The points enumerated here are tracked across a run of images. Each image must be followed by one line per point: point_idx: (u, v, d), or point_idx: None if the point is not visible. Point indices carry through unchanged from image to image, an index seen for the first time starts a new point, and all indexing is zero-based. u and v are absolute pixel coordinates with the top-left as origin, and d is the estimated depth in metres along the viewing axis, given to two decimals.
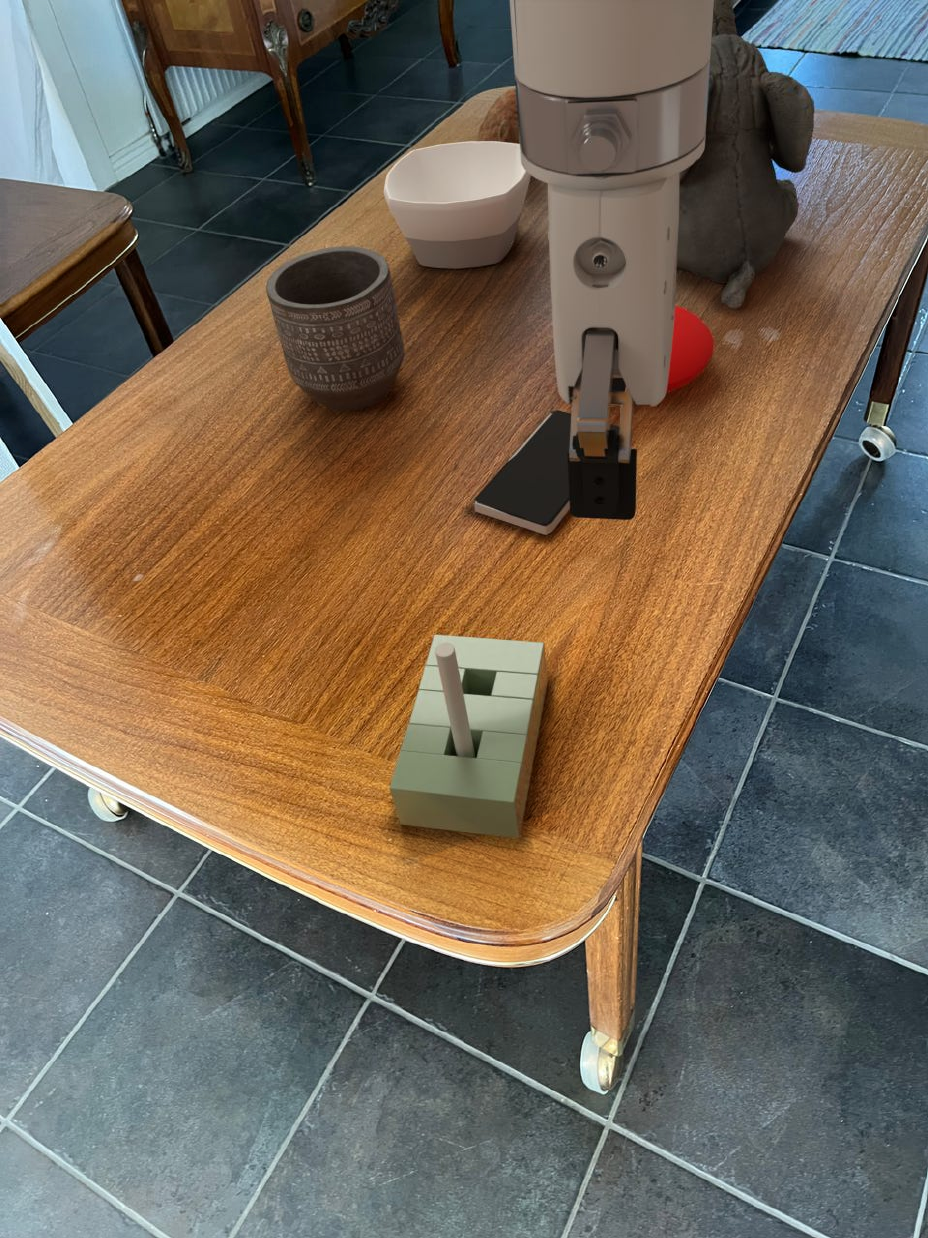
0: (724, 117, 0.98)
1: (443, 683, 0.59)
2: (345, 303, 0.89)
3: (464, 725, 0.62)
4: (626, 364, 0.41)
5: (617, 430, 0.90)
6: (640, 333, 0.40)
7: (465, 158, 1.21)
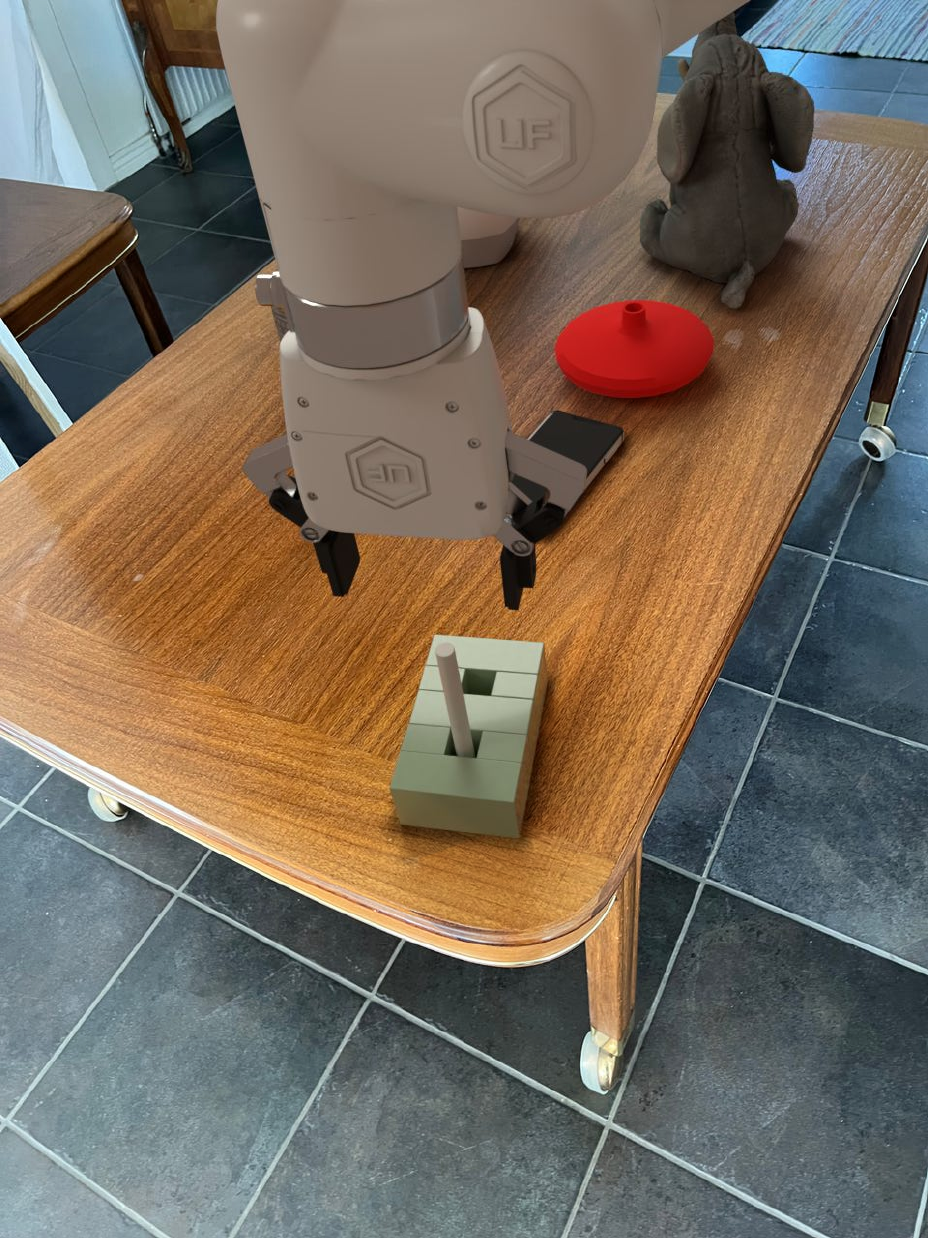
0: (724, 117, 0.98)
1: (443, 683, 0.59)
2: None
3: (464, 725, 0.62)
4: None
5: (617, 430, 0.90)
6: None
7: None
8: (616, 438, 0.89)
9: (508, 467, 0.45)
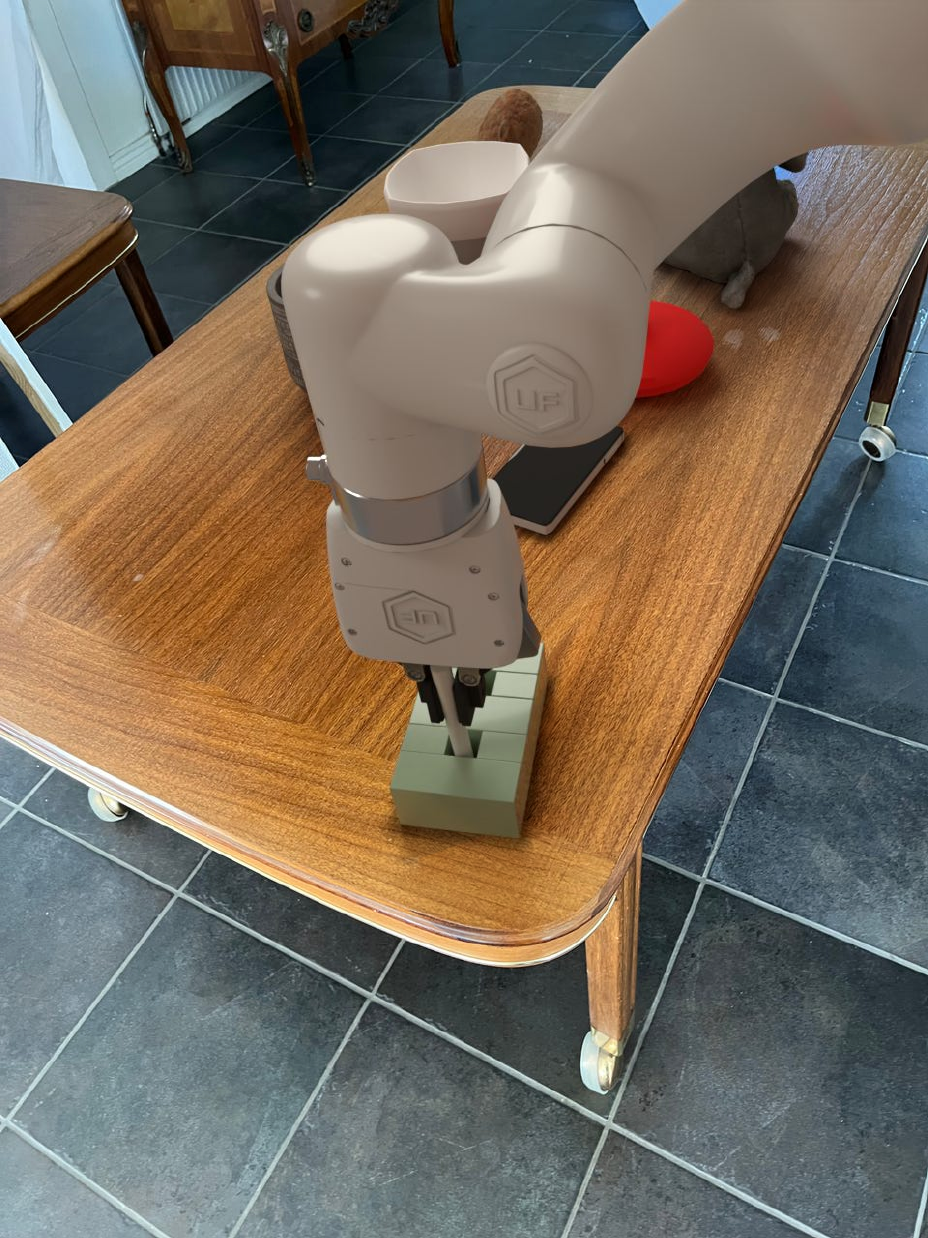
0: None
1: (440, 696, 0.58)
2: None
3: (462, 733, 0.61)
4: None
5: (617, 430, 0.90)
6: None
7: (465, 158, 1.21)
8: (616, 438, 0.89)
9: None
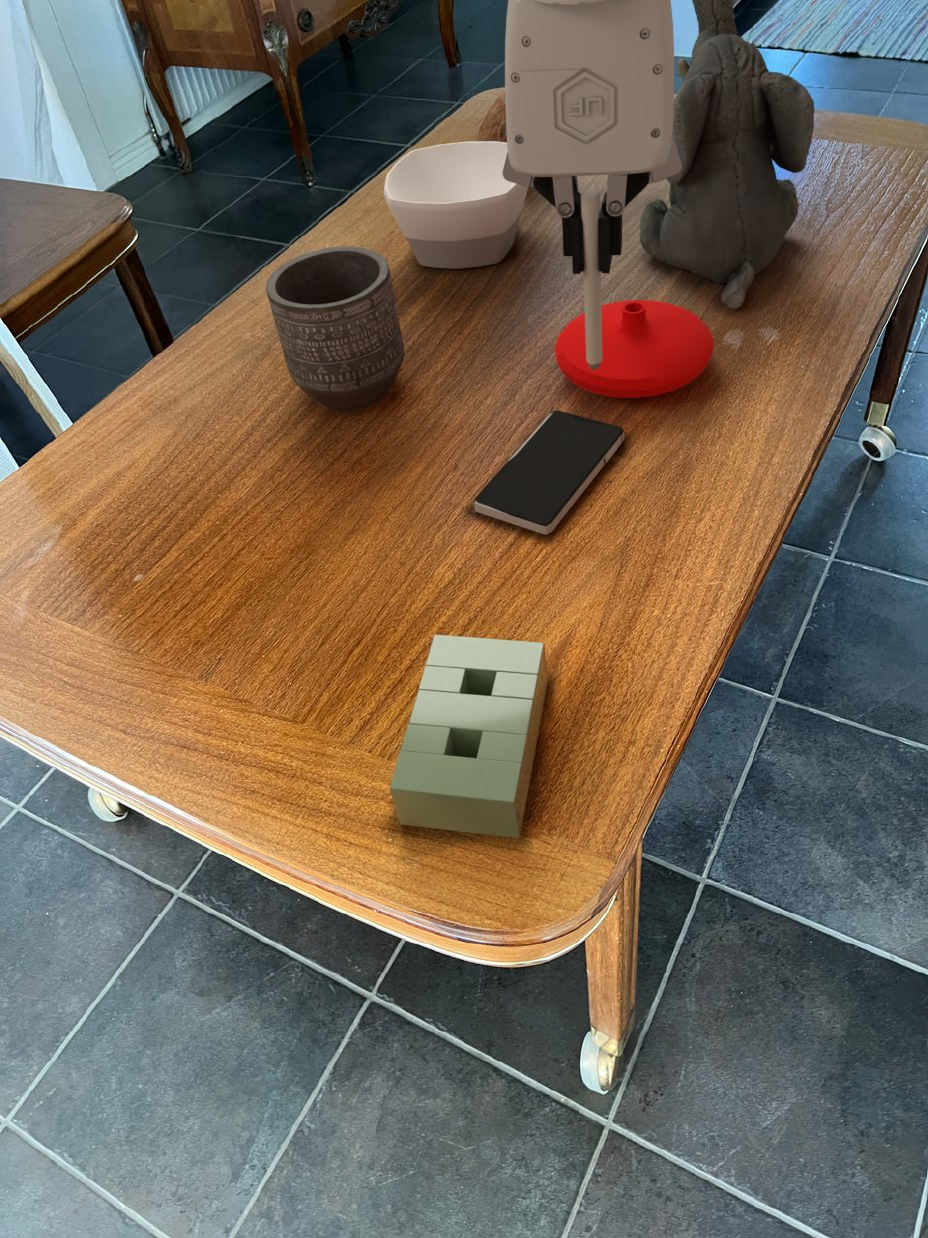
0: (724, 117, 0.98)
1: (585, 235, 0.64)
2: (345, 303, 0.89)
3: (598, 290, 0.68)
4: None
5: (617, 430, 0.90)
6: (505, 101, 0.59)
7: (465, 158, 1.21)
8: (616, 438, 0.89)
9: None
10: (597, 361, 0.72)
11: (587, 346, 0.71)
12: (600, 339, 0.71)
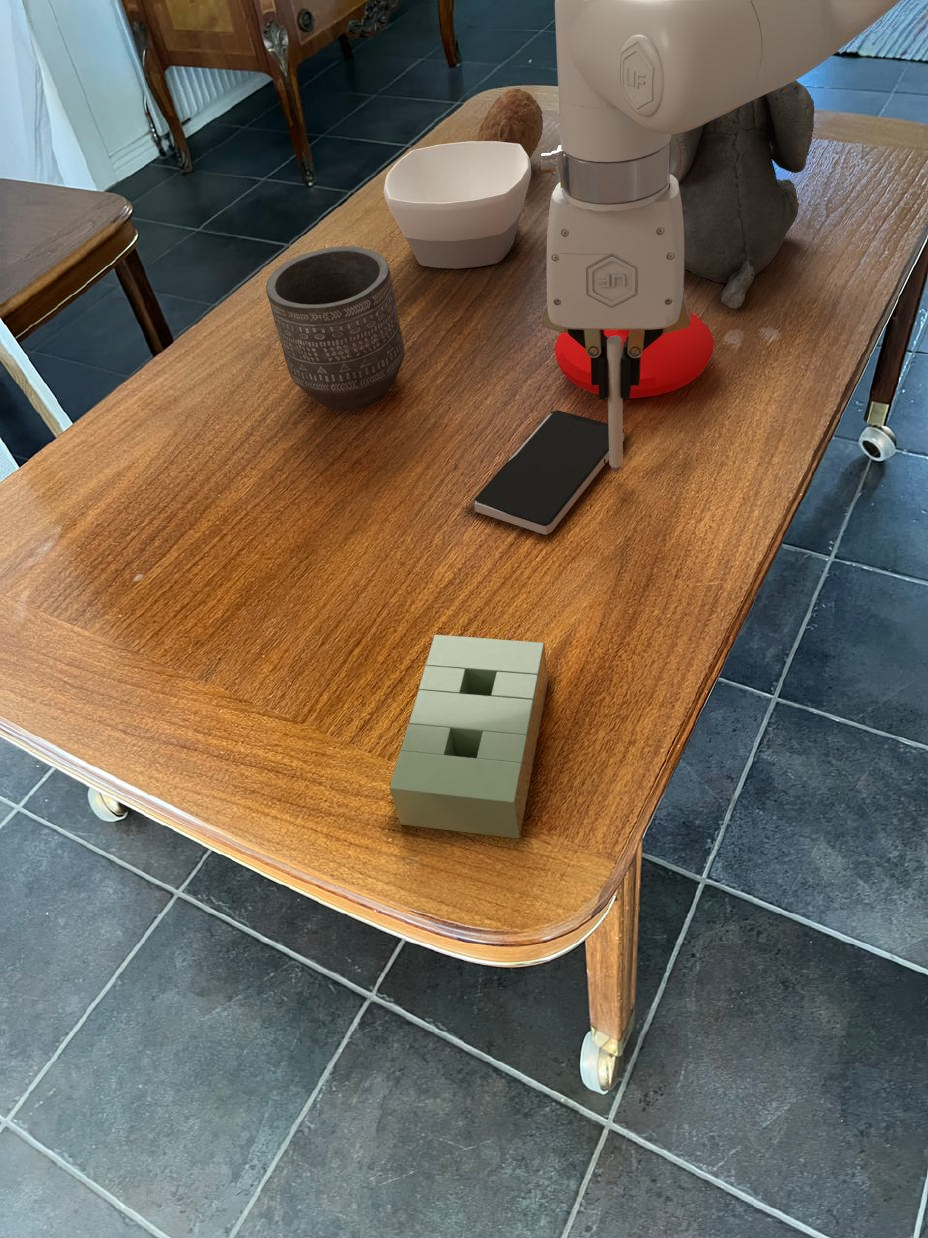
0: (724, 117, 0.98)
1: (610, 371, 0.78)
2: (345, 303, 0.89)
3: (620, 412, 0.81)
4: None
5: None
6: None
7: (465, 158, 1.21)
8: None
9: None
10: (618, 465, 0.86)
11: (610, 453, 0.85)
12: (621, 448, 0.84)
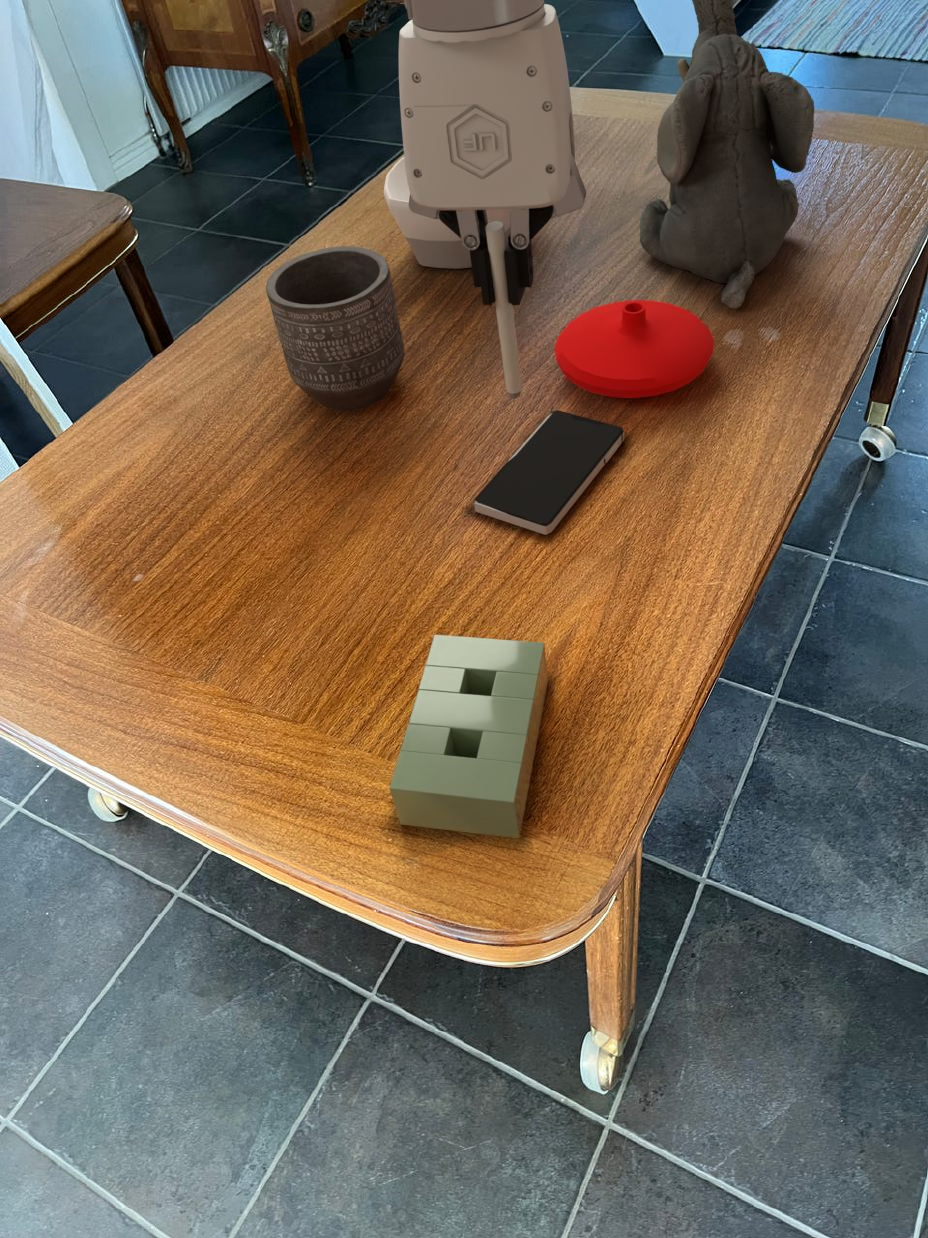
0: (724, 117, 0.98)
1: (492, 266, 0.64)
2: (345, 303, 0.89)
3: (511, 321, 0.67)
4: None
5: (617, 430, 0.90)
6: None
7: None
8: (616, 438, 0.89)
9: None
10: (516, 390, 0.72)
11: (505, 375, 0.71)
12: (517, 369, 0.71)
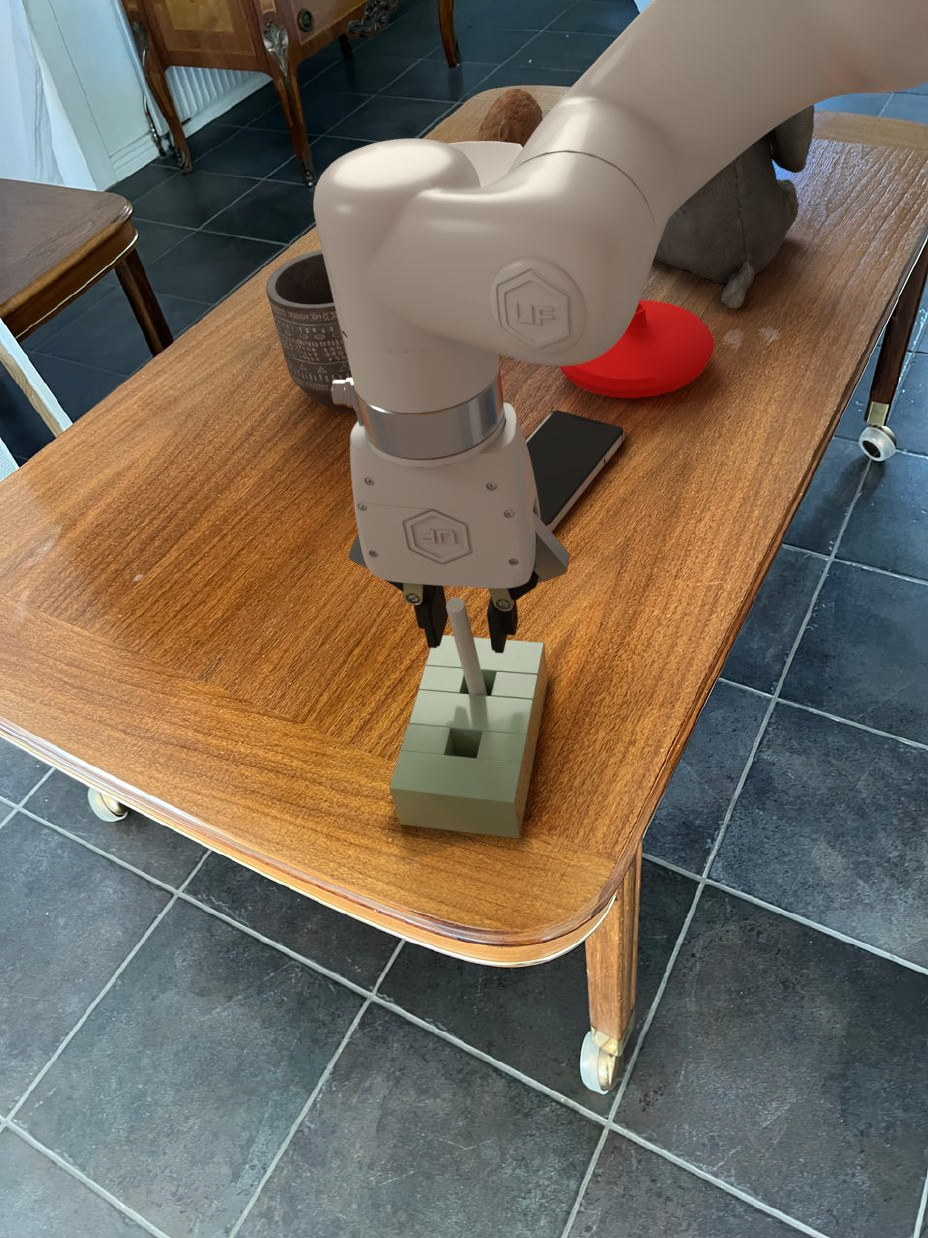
0: None
1: (455, 635, 0.61)
2: None
3: (476, 672, 0.65)
4: None
5: (617, 430, 0.90)
6: None
7: None
8: (616, 438, 0.89)
9: None
10: None
11: None
12: None
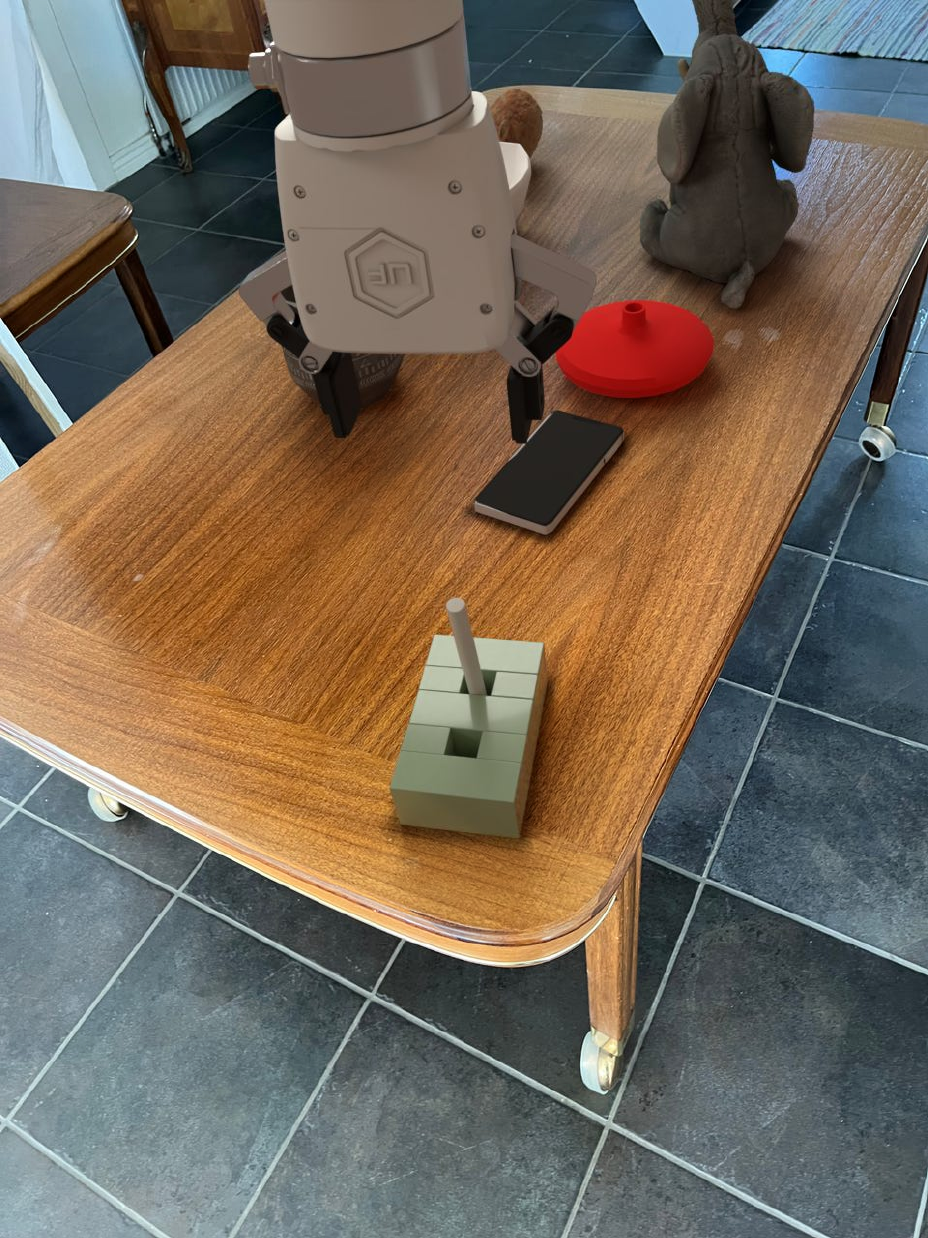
0: (724, 117, 0.98)
1: (455, 635, 0.61)
2: None
3: (476, 672, 0.65)
4: None
5: (617, 430, 0.90)
6: None
7: None
8: (616, 438, 0.89)
9: (515, 271, 0.43)
10: None
11: None
12: None
